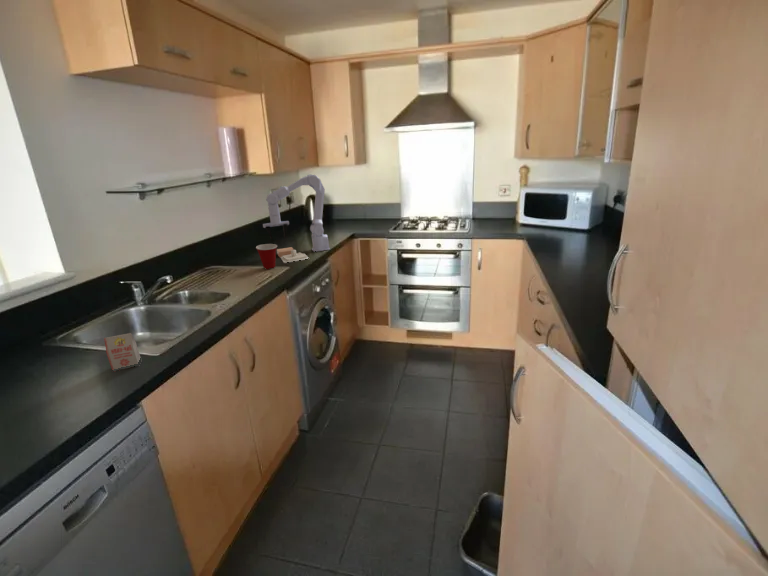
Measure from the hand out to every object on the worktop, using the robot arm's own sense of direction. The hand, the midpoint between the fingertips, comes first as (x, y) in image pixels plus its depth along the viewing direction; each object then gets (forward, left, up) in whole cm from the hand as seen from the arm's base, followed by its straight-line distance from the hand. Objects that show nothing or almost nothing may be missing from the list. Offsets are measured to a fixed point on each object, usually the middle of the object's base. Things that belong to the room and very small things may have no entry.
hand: (278, 238), depth 233 cm
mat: (-6, +12, -10) cm, 17 cm away
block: (-3, -1, -10) cm, 11 cm away
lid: (-6, +11, -10) cm, 16 cm away
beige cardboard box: (+60, +111, -11) cm, 127 cm away
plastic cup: (+9, +24, -11) cm, 28 cm away
